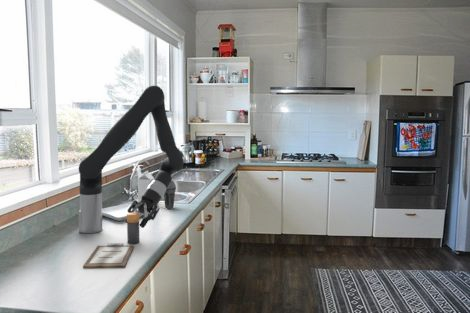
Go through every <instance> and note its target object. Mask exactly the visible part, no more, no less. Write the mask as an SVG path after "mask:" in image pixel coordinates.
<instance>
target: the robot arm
mask: <svg viewBox="0 0 470 313" xmlns="http://www.w3.org/2000/svg"><path fill="white" fill-rule="evenodd" d="M165 98H166V96H165V93H164V91H163V89H162V88H161V86H158V85H154V84H153V85H149V86H147V87H145V90H143V92H142V93H141V95H140V96H139V98H138V99H137V101H135V103H134V104H133V105H132V106H131V108H129V110H127V111H126V112H125V113H124V114H123V115H122V116H121V117H120V118H119V119H118V120H117V121H116V123H115V124H114V125H113V126H112V127H110V129H109V131H108V132H107V133H106V135H104V137H103V138H102V140H101V142H100V143H99V145H98V146H97V147H96V148H95V149H94V151H92V152H91V153H90V154H89V155H88V156H87V157H84V158H83V159H82V160H81V161H80V163H79V164H78V173H79V211H78V233H83V234H95V233H100V232H101V231H103V215H102V209H103V169H104V168H105V166H106V165H107V163H108V162H109V161H110V160H111V158H113V157H114V156H115V155H116V154H117V153H118V152H119V151H120V150H122V148H124V147H125V145H126V144H128V142H129V141H130V140H131V138H133V136H135V135H136V133H137V132H138V130H139V128H141V126H142V124H143V122H144V121H145V119H146V118H147V116H149V114H151V116H152V119H153V124H154V127H155V133H156V136H157V140H158V144H159V147H160V150H161V152H162V153H165V154H166V158H164V159H163V161H162V162H161V164H160V166H159V169H158V172H157V173H156V175H155V177H154V180H153V181H152V182H151V183H150V185H149V186H148V188H147V189H146V191H145V192H144V194H143V195H142V200H141V201H140V202H138V200H136V199H134V201H133V202H132V203H131V204H132V205H131V206H130V207H129V209H128V210H127V211H128V212H129V213H132V212H136V213H139V214H140V213H144V214H145V216H144V217H143V218H142V220H141V221H140V222H139V228H142V229H144V228H145V227H146V226H147V224H148V222H150V220H152V221H154V220H155V219H156V216H157V215H158V213H159V211H160V209H161V208H160V207H159V206H158V205H159V203H160V201H161V199H162V198H163V196H164V193H165V191H166V189H167V187H168V186H169V184H170V182H171V181H172V179H173V178H172V174H173V173H174V172H178V171H180V170H182V168H183V167H184V159H183V155H182V154H181V151H180V150H179V148H178V147H177V145H176V142H175V136H174V133H173V132H172V127H171V125H170V123H169V119H168V116H167V112H166V104H165ZM131 209H132V211H131ZM137 209H138V210H137ZM125 223H126V224H127V218H126V220H125Z"/></svg>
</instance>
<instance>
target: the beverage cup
mask: <svg viewBox="0 0 470 313" xmlns="http://www.w3.org/2000/svg"><path fill="white" fill-rule="evenodd" d="M176 190H177V187H176V184H175V182H174V181H172V180H171V182H170V184H169V186H168V187H167V189H166V191H165V193H164V195H163V196H164V197H163V200H164V201H163V202H164V207H165V208H167V209H166V210H170V209H169V208H173V209H174V205H175V196H176Z"/></svg>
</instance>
